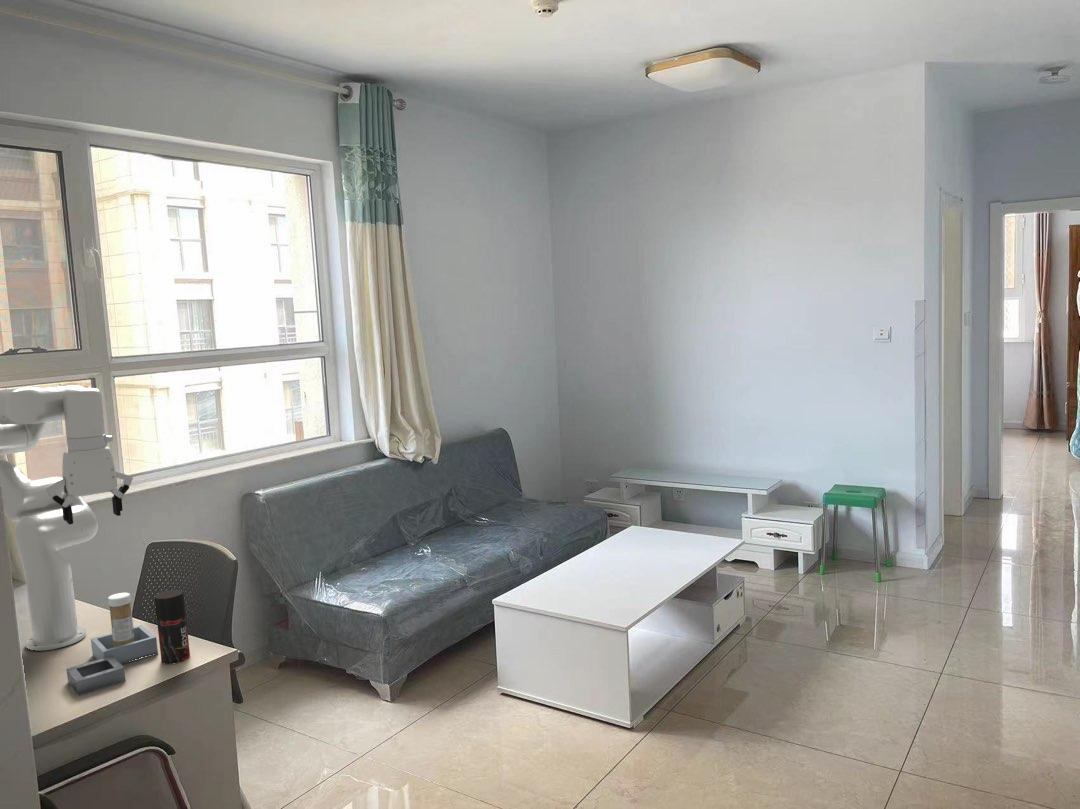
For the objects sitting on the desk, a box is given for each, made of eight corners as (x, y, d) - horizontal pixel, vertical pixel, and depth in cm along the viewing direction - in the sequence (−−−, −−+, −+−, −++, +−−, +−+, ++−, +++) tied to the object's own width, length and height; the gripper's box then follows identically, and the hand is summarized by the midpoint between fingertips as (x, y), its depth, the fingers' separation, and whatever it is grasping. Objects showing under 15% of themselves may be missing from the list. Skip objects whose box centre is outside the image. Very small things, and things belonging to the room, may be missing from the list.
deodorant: (184, 663, 181) (177, 597, 179) (157, 665, 180) (149, 599, 179) (193, 652, 187) (187, 588, 185) (167, 654, 186) (160, 590, 185)
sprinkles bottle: (118, 648, 189) (112, 592, 188) (139, 647, 190) (133, 591, 188) (110, 656, 185) (104, 599, 183) (131, 655, 185) (125, 597, 184)
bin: (92, 655, 188) (90, 638, 187) (143, 641, 195) (141, 624, 194) (105, 669, 180) (103, 652, 179) (158, 653, 187) (156, 637, 186)
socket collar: (67, 682, 174) (66, 668, 174) (114, 668, 180) (112, 655, 179) (78, 695, 167) (76, 681, 167) (125, 681, 173) (124, 667, 173)
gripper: (123, 436, 190) (130, 508, 192) (38, 447, 178) (46, 523, 180) (133, 440, 184) (140, 514, 186) (46, 451, 173) (54, 530, 175)
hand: (93, 518), depth 183 cm, fingers open, 9 cm apart
